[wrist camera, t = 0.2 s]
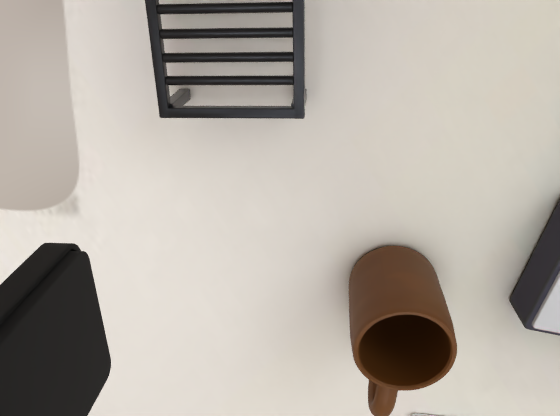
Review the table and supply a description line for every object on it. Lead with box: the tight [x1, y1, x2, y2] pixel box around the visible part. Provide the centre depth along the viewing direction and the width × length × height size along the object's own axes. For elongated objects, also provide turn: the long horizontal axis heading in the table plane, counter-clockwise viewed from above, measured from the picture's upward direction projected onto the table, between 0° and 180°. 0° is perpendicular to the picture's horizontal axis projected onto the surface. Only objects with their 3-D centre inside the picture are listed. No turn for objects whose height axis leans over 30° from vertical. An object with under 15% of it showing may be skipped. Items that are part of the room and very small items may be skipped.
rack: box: [145, 0, 306, 119], centre depth 34 cm, size 14×10×5 cm
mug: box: [349, 246, 457, 416], centre depth 42 cm, size 12×8×9 cm, turn 172°
